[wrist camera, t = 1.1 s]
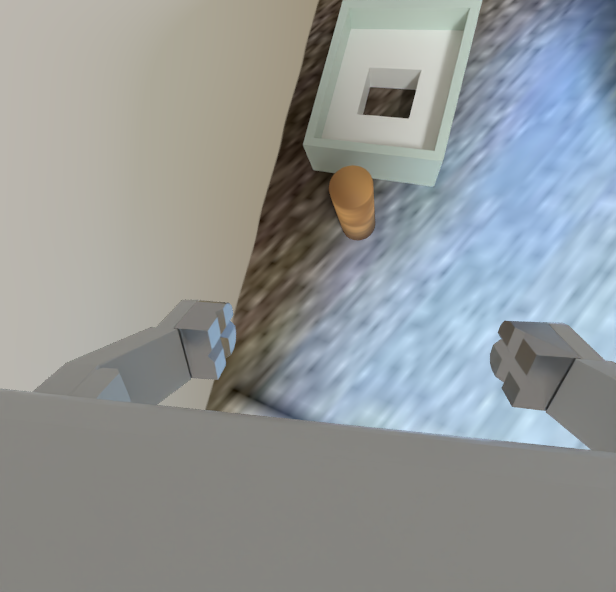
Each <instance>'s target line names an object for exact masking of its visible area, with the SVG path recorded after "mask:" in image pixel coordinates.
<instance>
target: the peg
mask: <svg viewBox="0 0 616 592" xmlns="http://www.w3.org/2000/svg"><path fill="white" fill-rule="evenodd" d="M329 193H330V196H331V199H332V202H333V204H334V207H335V210H336V213H337V215H338V218H339V221H340V224H341V226H342V229H343V232H344V233H345V235H346V236H347V237H349V238H350V239H353V240H362V239H365V238H367V237H368V236H370V235H371V234H372V232H373V230H374V228H375V211H374V192H373V180H372V177H371V175H370V173H369V172H368V171H367V170H366V169H364V168H362V167H360V166H355V165H351V166H346V167H343V168H341V169H340V170H338V171H337V172H336V173H335V174H334V175H333V177H332V178H331V180H330V184H329Z"/></svg>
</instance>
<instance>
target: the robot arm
mask: <svg viewBox="0 0 616 592" xmlns="http://www.w3.org/2000/svg"><path fill="white" fill-rule="evenodd" d="M232 316H233V310H232V306H231V305H230V303H225V302H213V301H201V300H200V301H198V300H181V301H180V302H179V303H178V304H177V305H176V307H175V308H174V309H173V310H172V311H171V312H170V313H169V314H168V315H167V316H166V317H165V318H164V319H163V320H162V321H161V322H160V323H159V325H158V326H157V327H150V328H148V329H145V330H143V331H140V332H138V333H136V334H133V335H131V336H129V337H126V338H124V339H121V340H119V341H117V342H115V343H112V344H110V345H107V346H105V347H103V348H100V349H98V350H95V351H93V352H91V353H88V354H86V355H84V356H81V357H79V358H77V359H74V360H72V361H70V362H67V363H65V364H64V365H63V366H62V367H61V368H60V369H58V370H57V371H56V372H55V373H54V374H53V375H51V377H49V378H48V379H47V380H46V381H45V382H43V383H42V384H41V385H40V386H39V387H37V388H36V389H35V390H34V391H33V392H27V391H17V390H8V389H0V592H616V363H614V362H612V361H605V360H604V359H603V358H602V357H601V356H600V355H599V354H598V353H597V352H596V351H595V350H594V349H593V348H592V347H590V346H589V345H588V344H587V343H586V342H585V341H584V340H583V339H582V338H581V337H580V336H579V335H578V334H577V333H576V332H575V331H574V330H573V329H572V328H571V327H570V326H569V325H567V324H564V323H549V322H519V321H504V322H503V323H502V324H501V326H500V328H499V331H498V334H499V336H500V338H501V340H499V341H498V342H496V343H495V344H494V345H493V347H492V350H491V353H490V364H491V368H492V371H493V373H494V375H495V376H496V377H497V378H498V379H500V380H501V381H503V382H504V384H503V386H502V390H503V391H504V393H505V395H506V397H507V399H508V400H509V402H510V404H511V406H512V407H518V408H527V409H535V410H544V411H546V413H547V414H549V415H550V416H551V417H552V418H554V419H555V420H556V421H557V422H558V423H560V424H561V425H562V426H563V427H564V428H566V429H567V430H568V431H569V432H570V433H572V434H573V435H574V436H575V437H576V438H578V439H579V440H580V441H581V442H582V443H584V444H585V445H586V446H587V447H588V448H590V449H591V450H584V449H574V448H565V447H555V446H546V445H536V444H527V443H517V442H508V441H498V440H489V439H479V438H470V437H460V436H451V435H441V434H432V433H422V432H412V431H403V430H393V429H383V428H373V427H364V426H354V425H344V424H334V423H325V422H315V421H305V420H295V419H286V418H276V417H267V416H257V415H248V414H238V413H228V412H219V411H209V410H199V409H190V408H180V407H171V406H161V405H157V404H159V403H160V402H161V401H163V400H164V399H165V398H167V397H168V396H169V395H170V394H172V393H173V392H174V391H176V390H177V389H179V388H180V387H181V386H183V385H184V384H185V383H187V382H188V381H189V380H191V378H200V379H216V380H218V379H219V377H220V375H221V373H222V371H223V369H224V367H225V365H226V362H225V358H226V357H228V356H229V355H231V353H232V351H233V349H234V346H235V341H236V329H235V326H234V324H233V323H232V322H231V321H230V319H231V318H232Z"/></svg>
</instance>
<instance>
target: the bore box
mask: <svg viewBox="0 0 616 592" xmlns="http://www.w3.org/2000/svg"><path fill="white" fill-rule="evenodd" d="M481 3H482V0H343V1H342V5H341V9H340V12H339V16H338V20H337V23H336V27H335V30H334V34H333V38H332V41H331V45H330V48H329V52H328V56H327V59H326V63H325V67H324V70H323V74H322V77H321V81H320V85H319V88H318V92H317V95H316V99H315V103H314V106H313V110H312V113H311V117H310V121H309V124H308V128H307V132H306V135H305V139H304V142H303V146H304V149H305V151H306V154H307V156H308V159H309V161H310V163H311V166H312V168H313V170H316V171H323V172H330V173H336V172H337V171H338V170H340V169H341V168H343V167H346V166H351V165H355V166H360V167H362V168H364V169H366V170H367V171H368V172H369V173H370V175H371V177H372V178H374V179H381V180H388V181H395V182H402V183H410V184H417V185H424V186H431V187H434V185H435V182H436V179H437V176H438V174H439V171H440V168H441V165H442V162H443V158H444V154H445V150H446V146H447V142H448V138H449V134H450V130H451V126H452V122H453V118H454V114H455V109H456V105H457V101H458V97H459V93H460V89H461V85H462V81H463V77H464V73H465V69H466V65H467V61H468V56H469V52H470V48H471V44H472V40H473V36H474V32H475V28H476V24H477V20H478V16H479V12H480V7H481ZM370 87H378V88H394V89H410V90H416V93H415V97H414V101H413V105H412V109H411V113H410V116H409V119H407V118H395V117H384V116H372V115H363V112H364V109H365V105H366V101H367V97H368V94H369V90H370Z"/></svg>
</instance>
